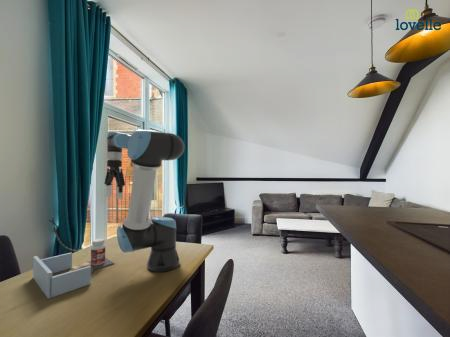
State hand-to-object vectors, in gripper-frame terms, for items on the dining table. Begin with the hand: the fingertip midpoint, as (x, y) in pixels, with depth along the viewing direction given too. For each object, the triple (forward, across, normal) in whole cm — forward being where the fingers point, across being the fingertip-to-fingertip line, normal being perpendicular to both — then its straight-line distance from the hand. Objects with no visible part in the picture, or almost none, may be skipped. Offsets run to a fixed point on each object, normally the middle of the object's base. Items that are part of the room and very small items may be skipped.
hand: (114, 197), depth 128 cm
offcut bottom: (+31, -17, +21) cm, 41 cm away
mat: (+31, -11, +12) cm, 35 cm away
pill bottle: (+30, -11, +12) cm, 35 cm away
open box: (+31, -17, +29) cm, 46 cm away
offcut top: (+29, -17, +21) cm, 40 cm away
